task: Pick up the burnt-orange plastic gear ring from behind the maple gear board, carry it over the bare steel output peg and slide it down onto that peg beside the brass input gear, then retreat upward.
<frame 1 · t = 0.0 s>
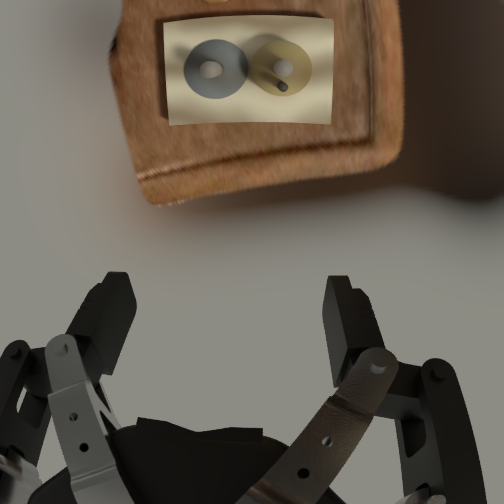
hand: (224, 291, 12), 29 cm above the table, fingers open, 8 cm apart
gear board: (249, 67, 32), on the table
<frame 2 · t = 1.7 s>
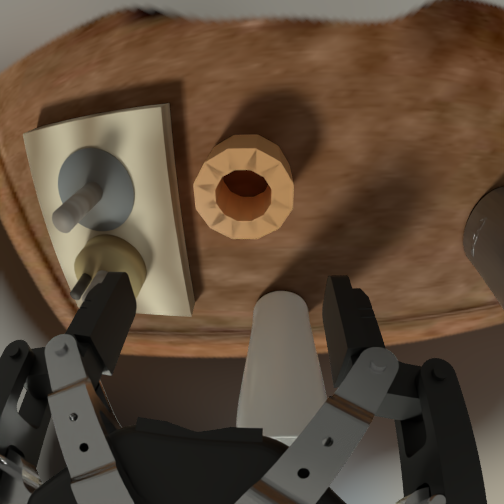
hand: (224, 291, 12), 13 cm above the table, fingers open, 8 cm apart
gear: (246, 175, 23), on the table
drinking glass: (280, 306, 31), on the table
gear board: (113, 218, 26), on the table
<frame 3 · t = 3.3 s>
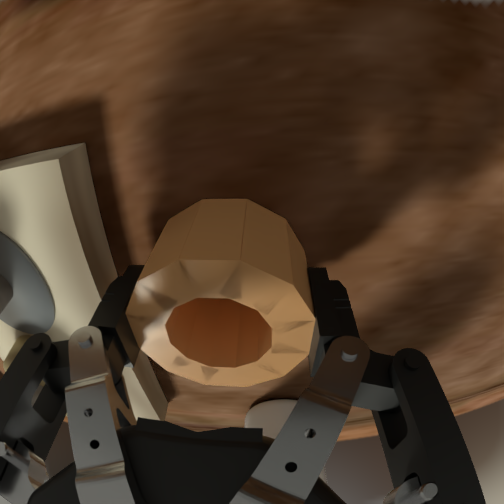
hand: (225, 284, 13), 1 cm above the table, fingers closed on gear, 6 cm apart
gear: (228, 266, 14), on the table, touching gripper
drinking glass: (281, 410, 21), on the table
gear board: (43, 308, 16), on the table
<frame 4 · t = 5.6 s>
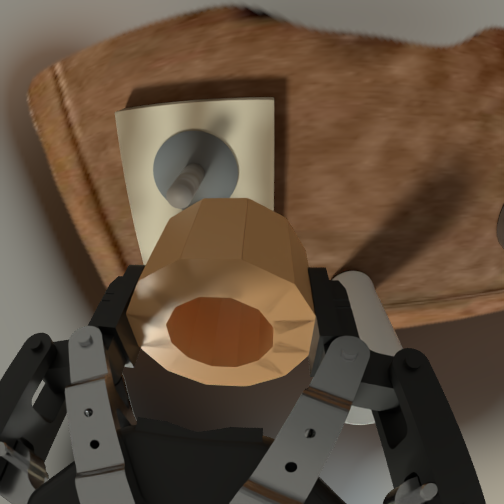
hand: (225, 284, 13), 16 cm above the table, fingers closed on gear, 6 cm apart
gear: (229, 266, 14), point 15 cm above the table, touching gripper
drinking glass: (348, 286, 34), on the table
gear board: (203, 201, 29), on the table
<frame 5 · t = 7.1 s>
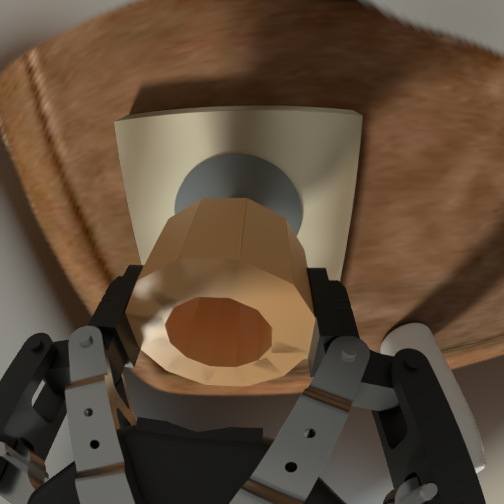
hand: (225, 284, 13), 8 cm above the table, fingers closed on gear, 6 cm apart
gear: (228, 266, 14), point 7 cm above the table, touching gripper
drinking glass: (404, 337, 27), on the table
gear board: (241, 249, 21), on the table
when the fingers open (5 cm above the table, at t = 8.3 s): gear drops 1 cm, resting on gear board.
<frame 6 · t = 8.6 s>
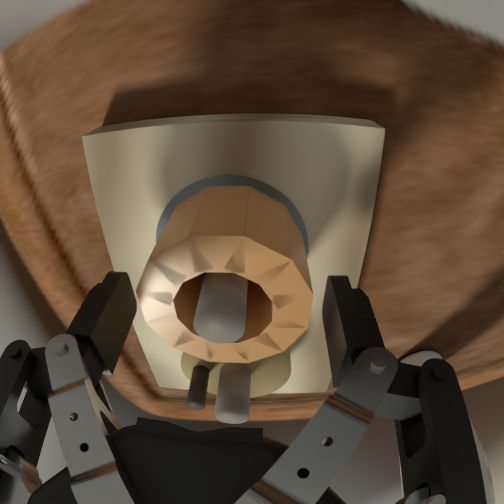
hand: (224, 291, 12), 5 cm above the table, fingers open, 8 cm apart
gear: (231, 250, 15), point 2 cm above the table, touching gear board
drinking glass: (413, 364, 24), on the table
gear board: (237, 280, 18), on the table
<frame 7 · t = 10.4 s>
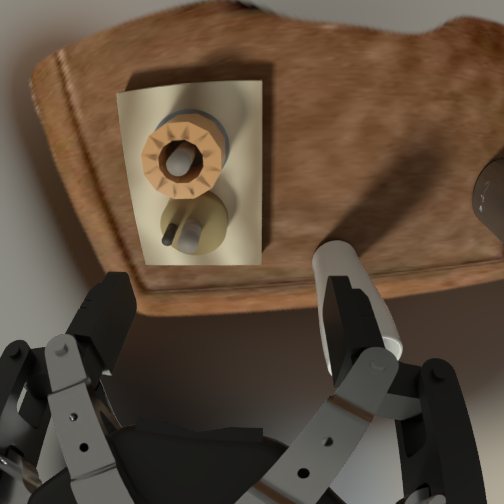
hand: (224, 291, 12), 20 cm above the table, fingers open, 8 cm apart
gear: (189, 148, 27), point 2 cm above the table, touching gear board
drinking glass: (333, 256, 36), on the table
gear board: (196, 176, 30), on the table
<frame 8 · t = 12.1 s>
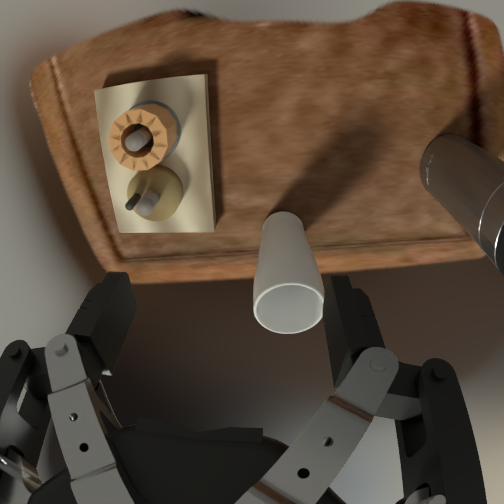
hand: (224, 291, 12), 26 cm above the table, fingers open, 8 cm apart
gear: (149, 131, 31), point 2 cm above the table, touching gear board
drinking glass: (282, 227, 41), on the table
gear board: (158, 156, 35), on the table
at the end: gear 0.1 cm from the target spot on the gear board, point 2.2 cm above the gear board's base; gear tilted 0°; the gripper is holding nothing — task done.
